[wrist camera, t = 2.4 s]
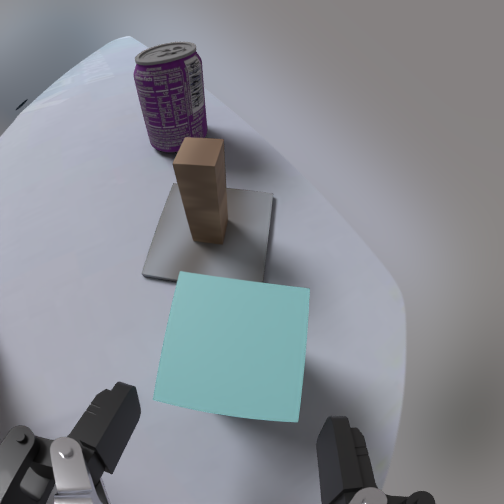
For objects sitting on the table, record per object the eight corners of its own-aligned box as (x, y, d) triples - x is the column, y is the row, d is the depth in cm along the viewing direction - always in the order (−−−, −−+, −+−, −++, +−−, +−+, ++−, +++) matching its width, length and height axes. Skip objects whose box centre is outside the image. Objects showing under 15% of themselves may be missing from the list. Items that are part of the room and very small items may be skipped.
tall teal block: (197, 394, 18) (153, 399, 8) (208, 328, 20) (180, 271, 11) (269, 405, 17) (298, 422, 8) (277, 338, 20) (309, 288, 11)
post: (143, 276, 22) (95, 207, 13) (174, 186, 27) (155, 109, 18) (261, 294, 22) (274, 226, 13) (272, 196, 26) (284, 115, 18)
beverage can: (199, 117, 33) (191, 36, 22) (215, 146, 30) (209, 52, 19) (147, 132, 31) (128, 52, 21) (156, 164, 28) (131, 70, 18)
